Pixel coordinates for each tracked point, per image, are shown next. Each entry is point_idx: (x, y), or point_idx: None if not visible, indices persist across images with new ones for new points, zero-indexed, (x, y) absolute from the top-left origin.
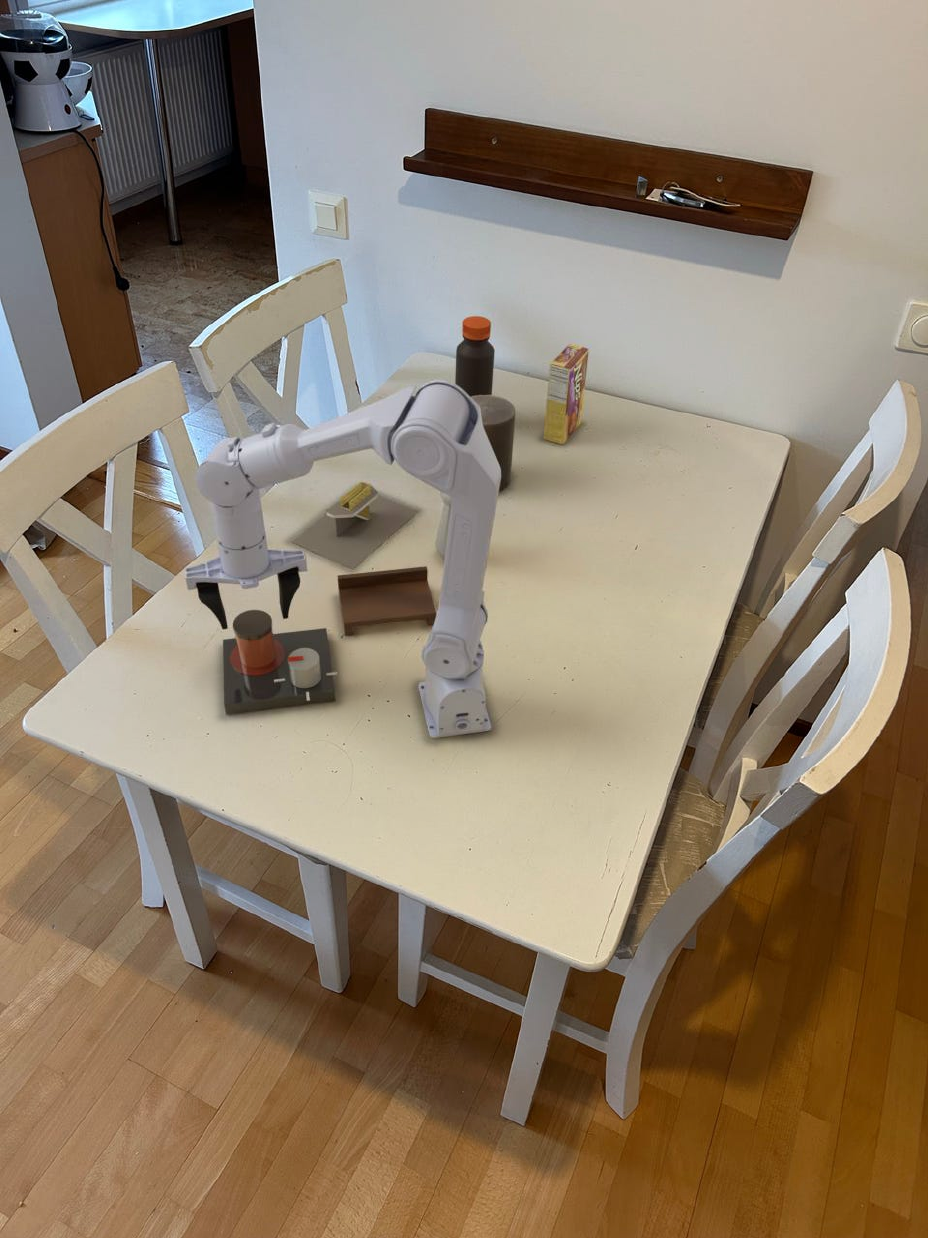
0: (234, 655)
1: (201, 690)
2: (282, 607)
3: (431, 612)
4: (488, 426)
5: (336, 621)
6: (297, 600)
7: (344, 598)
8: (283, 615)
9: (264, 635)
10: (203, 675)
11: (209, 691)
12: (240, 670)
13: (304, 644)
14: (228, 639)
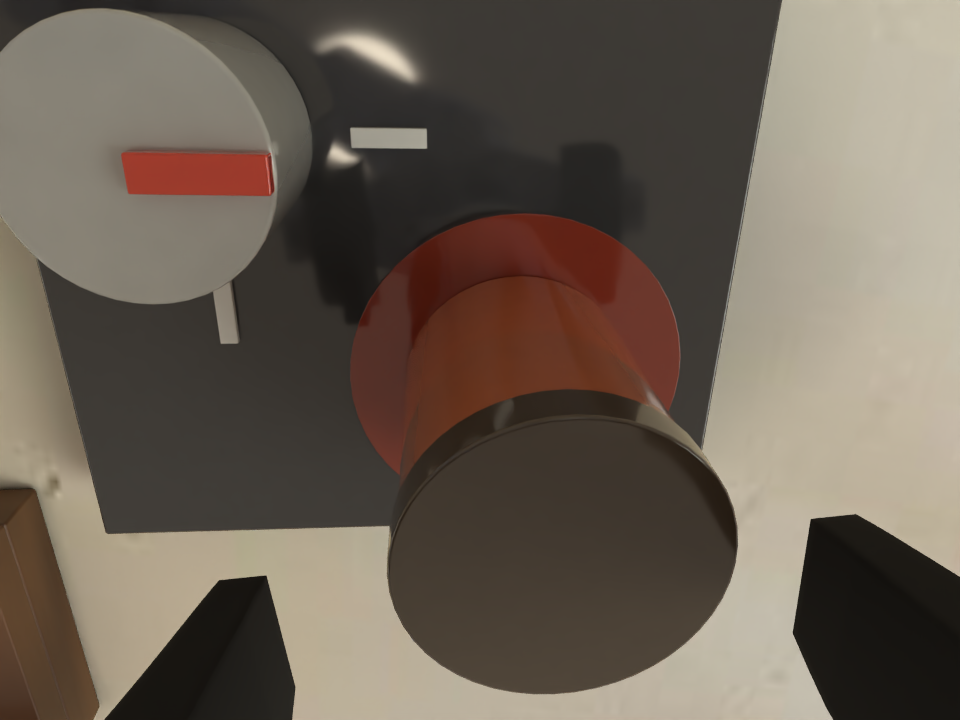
0: None
1: (835, 215)
2: (206, 717)
3: None
4: None
5: (98, 583)
6: (303, 710)
7: (12, 712)
8: (240, 611)
9: (466, 426)
10: (800, 322)
11: (796, 200)
12: (633, 273)
13: (230, 429)
14: None
